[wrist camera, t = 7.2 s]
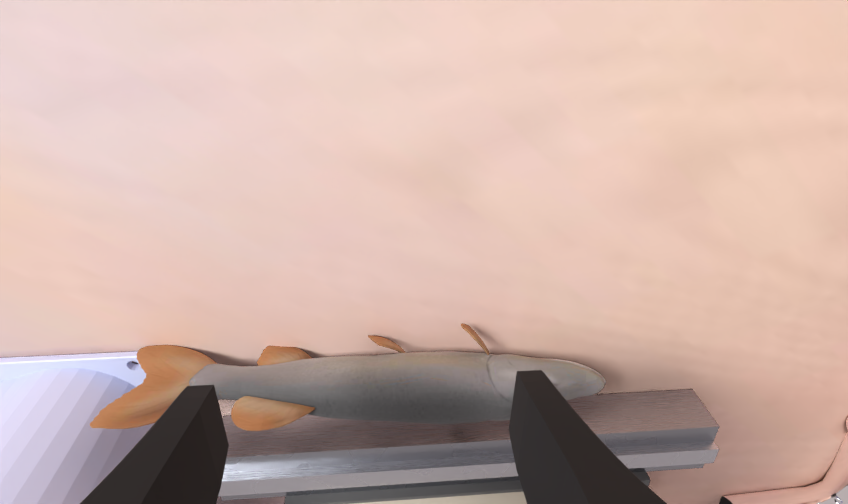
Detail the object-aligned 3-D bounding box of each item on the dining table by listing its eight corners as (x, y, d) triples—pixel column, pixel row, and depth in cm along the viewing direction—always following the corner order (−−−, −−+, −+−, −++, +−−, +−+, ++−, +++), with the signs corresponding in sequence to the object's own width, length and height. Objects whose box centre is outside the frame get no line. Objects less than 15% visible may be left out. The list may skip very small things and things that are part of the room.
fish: (576, 382, 27) (614, 465, 23) (147, 379, 25) (99, 471, 20) (598, 312, 25) (644, 389, 21) (128, 302, 23) (71, 387, 18)
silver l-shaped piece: (710, 518, 34) (843, 501, 35) (754, 588, 30) (903, 569, 31) (743, 402, 30) (896, 384, 30) (800, 467, 26) (975, 446, 26)
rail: (233, 457, 28) (219, 510, 25) (223, 415, 26) (206, 467, 23) (678, 429, 29) (707, 476, 27) (692, 389, 28) (725, 434, 25)
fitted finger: (298, 487, 29) (288, 556, 26) (292, 453, 28) (281, 521, 24) (616, 466, 30) (645, 529, 27) (625, 432, 29) (657, 494, 26)
